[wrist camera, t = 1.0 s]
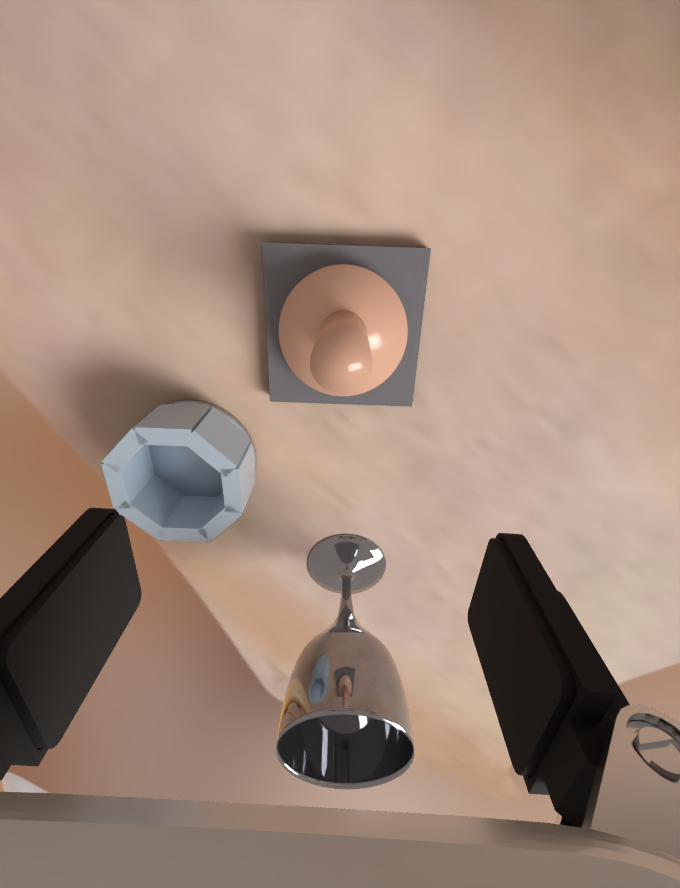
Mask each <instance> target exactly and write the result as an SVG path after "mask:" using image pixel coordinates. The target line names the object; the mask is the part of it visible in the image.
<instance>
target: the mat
mask: <svg viewBox="0 0 680 888" xmlns="http://www.w3.org/2000/svg"><path fill="white" fill-rule="evenodd" d="M430 251H431V248H413V247H384V246H354V245H325V244H295V243H266V242H262V258H263V277H264V297H265V316H266V335H267V354H268V373H269V392H270V401H274V402H302V403H330V404H358V405H386V406H412V401H413V393H414V384H415V376H416V368H417V359H418V351H419V342H420V334H421V326H422V317H423V309H424V301H425V292H426V284H427V276H428V267H429V259H430ZM335 264H351V265H357V266H361V267H364V268H366V269H369V270H371V271H373V272H374V273H376V274H378V275H379V276H380V277H382V278H383V279H384V280H385V281H386V282H387V283H388V284H389V285H390V286H391V287H392V288H393V289H394V291H395V292H396V294H397V295H398V297H399V299H400V301H401V302H402V305H403V307H404V310H405V314H406V318H407V326H408V336H407V343H406V348H405V351H404V354H403V356H402V359H401V361H400V363H399V364H398V366H397V368H396V369H395V370H394V372H393V373H392V374H391V375H390V376H389V377H388V378H387V379H386V380H385V381H384V382H383V383H381V384H380V385H379V386H377V387H375V388H374V389H372V390H370V391H367V392H365V393H362V394H358V395H353V396H333V395H329V394H325V393H322V392H319V391H317V390H315V389H313V388H311V387H309V386H308V385H306V384H305V383H304V382H303V381H301V380H300V379H299V378H298V377H297V376H296V375H295V374H294V372H293V371H292V370H291V368H290V367H289V365H288V364H287V362H286V360H285V358H284V355H283V353H282V350H281V346H280V341H279V321H280V315H281V312H282V308H283V306H284V304H285V301H286V299H287V298H288V296H289V294H290V293H291V291H292V290H293V289H294V288H295V286H296V285H297V284H298V283H299V282H300V281H302V280H303V279H304V278H305V277H306V276H308V275H309V274H311V273H312V272H314V271H316V270H318V269H320V268H323V267H326V266H330V265H335Z"/></svg>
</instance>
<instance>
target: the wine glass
mask: <svg viewBox="0 0 680 888" xmlns="http://www.w3.org/2000/svg"><path fill="white" fill-rule="evenodd" d="M307 566H308V571H309V573H310V575H311V577H312V578H313V580H314V581H315V582H316V583H317V584H318V585H320V586H321V587H323V588H325V589H327V590H329V591H332V592H335V593H340V594H341V601H340V607H339V612H338V616H337V618H336V619H335V621H334V622H333V624H332V625H331V626H329V627H328V628H327V629H325V630H324V631H323V632H321V633H320V634H318V635H317V636H316V637H314V638H313V639H312V640H311V641H310V642H309V643H308V644H307V645H306V646H305V647H304V649H303V650H302V652H301V654H300V656H299V657H298V659H297V661H296V664H295V666H294V669H293V671H292V674H291V677H290V680H289V684H288V687H287V691H286V694H285V698H284V701H283V707H282V712H281V717H280V723H279V730H278V737H277V746H276V749H277V750H276V752H277V757H278V759H279V761H280V763H281V765H282V766H283V767H284V768H285V769H286V770H287V771H288V772H289V773H291V774H292V775H294V776H295V777H297V778H299V779H301V780H303V781H305V782H308V783H311V784H314V785H318V786H322V787H328V788H335V789H360V788H368V787H373V786H377V785H381V784H384V783H386V782H389V781H391V780H393V779H395V778H397V777H399V776H400V775H402V774H403V773H404V772H405V771H406V770H407V769H408V768H409V767H410V765H411V763H412V762H413V758H414V742H413V734H412V726H411V719H410V714H409V708H408V702H407V698H406V695H405V691H404V687H403V684H402V680H401V678H400V675H399V672H398V669H397V667H396V664H395V661H394V659H393V657H392V655H391V653H390V652H389V650H388V649H387V648H386V646H385V645H384V644H383V643H382V642H381V641H380V640H379V639H378V638H377V637H375V636H374V635H373V634H371V633H370V632H369V631H367V630H366V629H365V628H363V627H362V626H361V625H360V624H359V623H358V621H357V619H356V617H355V615H354V610H353V605H352V597H351V594H354V593H359V592H362V591H365V590H368V589H369V588H371V587H373V586H374V585H376V584H377V583H378V582H379V581H380V579H381V578H382V576H383V574H384V572H385V568H386V560H385V557H384V554H383V552H382V551H381V549H380V548H379V547H378V546H377V545H376V544H375V543H373V542H372V541H370V540H368V539H366V538H364V537H361V536H357V535H349V534H343V535H336V536H331V537H329V538H326V539H324V540H322V541H321V542H319V543H318V544H317V545H316V546H315V547H314V548H313V549H312V550H311V552H310V554H309V557H308V564H307Z"/></svg>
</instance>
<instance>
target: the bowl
mask: <svg viewBox="0 0 680 888" xmlns="http://www.w3.org/2000/svg"><path fill="white" fill-rule="evenodd" d="M102 462H103V463H102V464H101V465H102V469H103V473H104V476H105V480H106V483H107V487H108V490H109V494H110V498H111V501H112V505H113V508H117V509H116V510H117V511H118V513H120V514H121V515H122V516H124V517H125V518H127V519H128V520H130V521H131V522H133V523H134V524H135V525H137V526H138V527H140V528H141V529H142V530H144V531H145V532H147V533H148V534H150V535H151V536H153V537H154V538H155V539H158V538H159V539H160V541H186V542H208V541H210V542H211V541H212V540H213V539H214V538H215V537H217V536H218V535H219V534H220V533H221V532H222V531H224V530H225V529H226V528H227V527H228V526H230V525H231V524H232V523H233V522H234V521H236V520H237V519H238V518H239V517H240V516H241V515H242V514H243V511H244V509H245V506H246V504H247V501H248V499H249V496H250V493H251V491H252V488H253V486H254V483H255V475H254V471H255V468H256V451H255V447H254V443H253V441H252V439H251V436H250V435H249V433H248V431H247V430H246V429H245V427H244V426H243V425H242V424H241V423H240V422H239V421H238V420H237V419H236V418H235V417H234V416H233V415H231V414H230V413H229V412H227V411H225V410H224V409H222V408H220V407H218V406H216V405H213V404H210V403H207V402H203V401H196V400H181V401H175V402H172V403H169V404H161V405H158V406H157V407H156V408H155V409H154V410H153V411H151V412H150V413H149V414H148V415H147V416H146V417H144V418H143V419H142V420H141V421H140V422H139V423H137V424H136V425H135V426H134V427H133V428H132V429H131V430H130V431H129V432H128V433H127V434H126V435H125V436H124V437H123V439H122V440H121V441H120V442H119V443H118V444H117V445H116V446H115V447H114V449H113V450H112V451H111V452H110V453H109V454H108V455H107V456H106V457H105V458H104V460H103V461H102Z"/></svg>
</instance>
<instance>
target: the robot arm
mask: <svg viewBox="0 0 680 888" xmlns="http://www.w3.org/2000/svg"><path fill="white" fill-rule="evenodd" d="M140 600H141V587H140V583H139V579H138V574H137V570H136V565H135V561H134V557H133V552H132V548H131V544H130V539H129V535H128V530H127V526H126V521H125V518H124V517H123V516H122V515H119V513H118V511H117V510H115V509H105V508H104V509H103V508H89V509H88V510H87V511H85V512H84V513H83V514H82V516H80V517H79V518H78V519H77V521H76V522H75V523H74V524H73V525H72V526H71V527H70V528H69V529H68V530H67V531H66V532H65V533H64V534H63V535H62V536H61V537H60V538H59V539H58V540H57V541H56V542H55V543H54V544H53V545H52V546H51V547H50V548H49V549H48V550H47V551H46V552H45V553H44V554H43V555H42V556H41V557H40V558H39V559H38V560H37V561H36V563H34V564H33V565H32V566H31V568H30V569H28V571H27V572H26V573H25V574H24V575H23V576H22V577H21V578H20V579H19V580H18V581H17V582H16V583H15V584H14V585H13V586H12V587H11V588H10V589H9V590H8V591H7V592H6V593H5V594H4V595H3V596H2V597H1V598H0V888H680V723H679V722H677V721H676V720H674V719H673V718H672V717H670V716H669V715H667V714H665V713H663V712H661V711H659V710H657V709H655V708H651V707H648V706H644V705H640V704H639V705H630V704H629V703H628V701H627V699H626V698H625V696H624V694H623V693H622V691H621V689H620V688H619V686H618V684H617V683H616V681H615V680H614V678H613V676H612V675H611V673H610V671H609V670H608V668H607V666H606V665H605V663H604V661H603V660H602V658H601V656H600V655H599V653H598V652H597V650H596V648H595V647H594V645H593V643H592V642H591V640H590V638H589V637H588V635H587V633H586V632H585V630H584V628H583V627H582V625H581V624H580V622H579V620H578V619H577V617H576V615H575V614H574V612H573V610H572V609H571V607H570V605H569V604H568V602H567V600H566V599H565V597H564V596H563V595H562V594H561V593H560V592H559V591H557V590H556V588H555V586H554V585H553V583H552V581H551V580H550V578H549V576H548V575H547V573H546V571H545V570H544V568H543V566H542V565H541V563H540V561H539V560H538V558H537V556H536V555H535V553H534V551H533V549H532V548H531V546H530V544H529V543H528V541H527V539H526V538H525V537H524V536H523V535H521V534H508V533H499V534H498V535H497V536H496V538H491V539H490V540H489V542H488V546H487V549H486V552H485V556H484V559H483V563H482V566H481V569H480V573H479V576H478V580H477V583H476V586H475V590H474V593H473V597H472V600H471V603H470V607H469V610H468V624H469V628H470V631H471V634H472V637H473V640H474V644H475V647H476V650H477V653H478V656H479V660H480V663H481V666H482V669H483V672H484V676H485V679H486V682H487V685H488V688H489V692H490V695H491V698H492V701H493V704H494V708H495V711H496V714H497V717H498V720H499V724H500V727H501V730H502V733H503V736H504V740H505V743H506V746H507V749H508V752H509V756H510V759H511V762H512V765H513V768H514V770H515V772H516V773H517V774H518V775H523V777H524V780H525V783H526V786H527V789H528V792H529V794H544V795H550V798H551V800H552V803H553V806H554V809H555V811H556V812H557V813H558V816H557V819H556V822H555V824H551V823H541V822H529V821H517V820H503V819H492V818H480V817H467V816H453V815H435V814H420V813H403V812H387V811H370V810H354V809H338V808H319V807H301V806H284V805H266V804H248V803H230V802H211V801H192V800H174V799H153V798H134V797H113V796H93V795H73V794H53V793H22V792H3V789H2V779H3V777H4V776H5V774H6V773H7V771H8V769H9V768H10V766H11V765H25V766H39V764H40V762H41V761H42V759H43V757H44V756H45V754H46V752H47V751H48V749H52V748H54V747H55V746H56V745H57V744H58V743H59V741H60V740H61V738H62V737H63V735H64V733H65V731H66V730H67V728H68V726H69V725H70V723H71V721H72V720H73V718H74V716H75V714H76V712H77V711H78V709H79V708H80V706H81V704H82V702H83V701H84V699H85V697H86V695H87V694H88V692H89V690H90V689H91V687H92V685H93V683H94V682H95V680H96V678H97V676H98V675H99V673H100V671H101V669H102V668H103V666H104V664H105V663H106V661H107V659H108V657H109V656H110V654H111V652H112V650H113V649H114V647H115V645H116V643H117V642H118V640H119V639H120V637H121V635H122V633H123V631H124V630H125V628H126V626H127V625H128V623H129V621H130V620H131V618H132V616H133V614H134V612H135V611H136V609H137V607H138V605H139V603H140Z"/></svg>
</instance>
